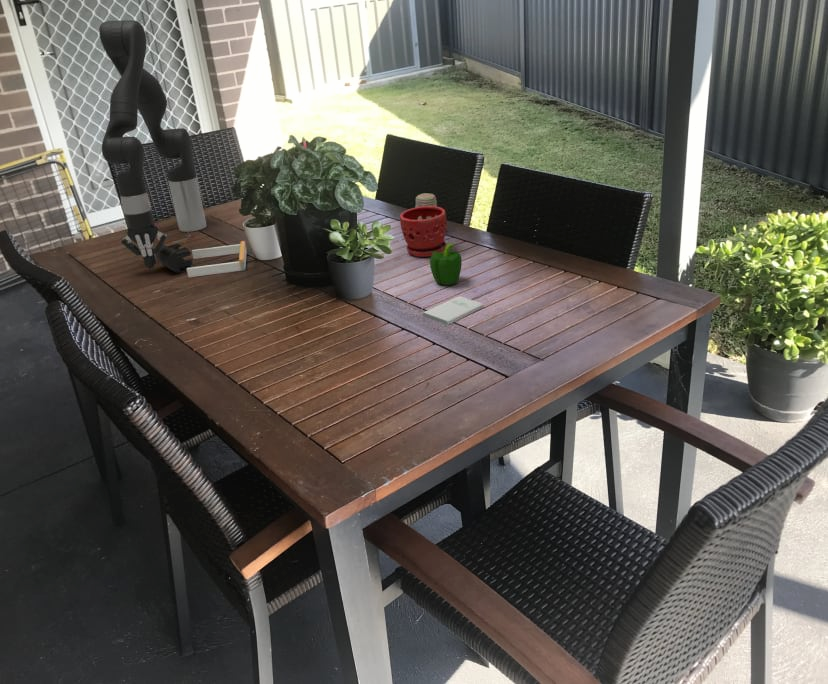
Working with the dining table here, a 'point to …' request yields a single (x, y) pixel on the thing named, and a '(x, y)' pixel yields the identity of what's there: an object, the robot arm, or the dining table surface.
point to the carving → (425, 202)
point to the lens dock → (219, 267)
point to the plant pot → (424, 230)
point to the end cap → (174, 257)
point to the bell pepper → (446, 266)
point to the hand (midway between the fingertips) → (151, 267)
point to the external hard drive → (453, 310)
